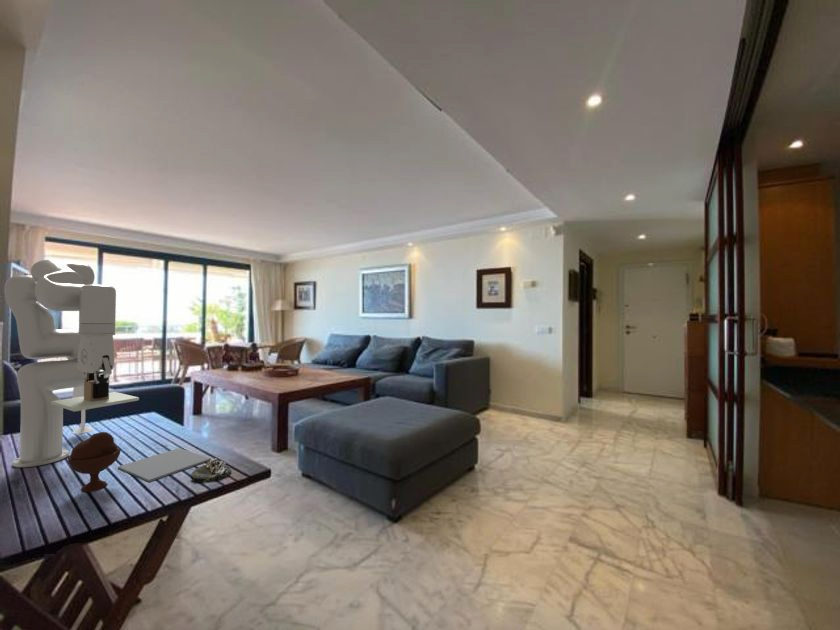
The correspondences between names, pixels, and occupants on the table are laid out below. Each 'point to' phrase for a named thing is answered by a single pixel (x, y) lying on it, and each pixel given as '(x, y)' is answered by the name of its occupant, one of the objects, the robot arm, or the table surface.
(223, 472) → the grey green irregular lump
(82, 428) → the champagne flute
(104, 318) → the robot arm
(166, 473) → the mat
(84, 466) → the ice cream bowl
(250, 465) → the table surface
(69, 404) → the cover
